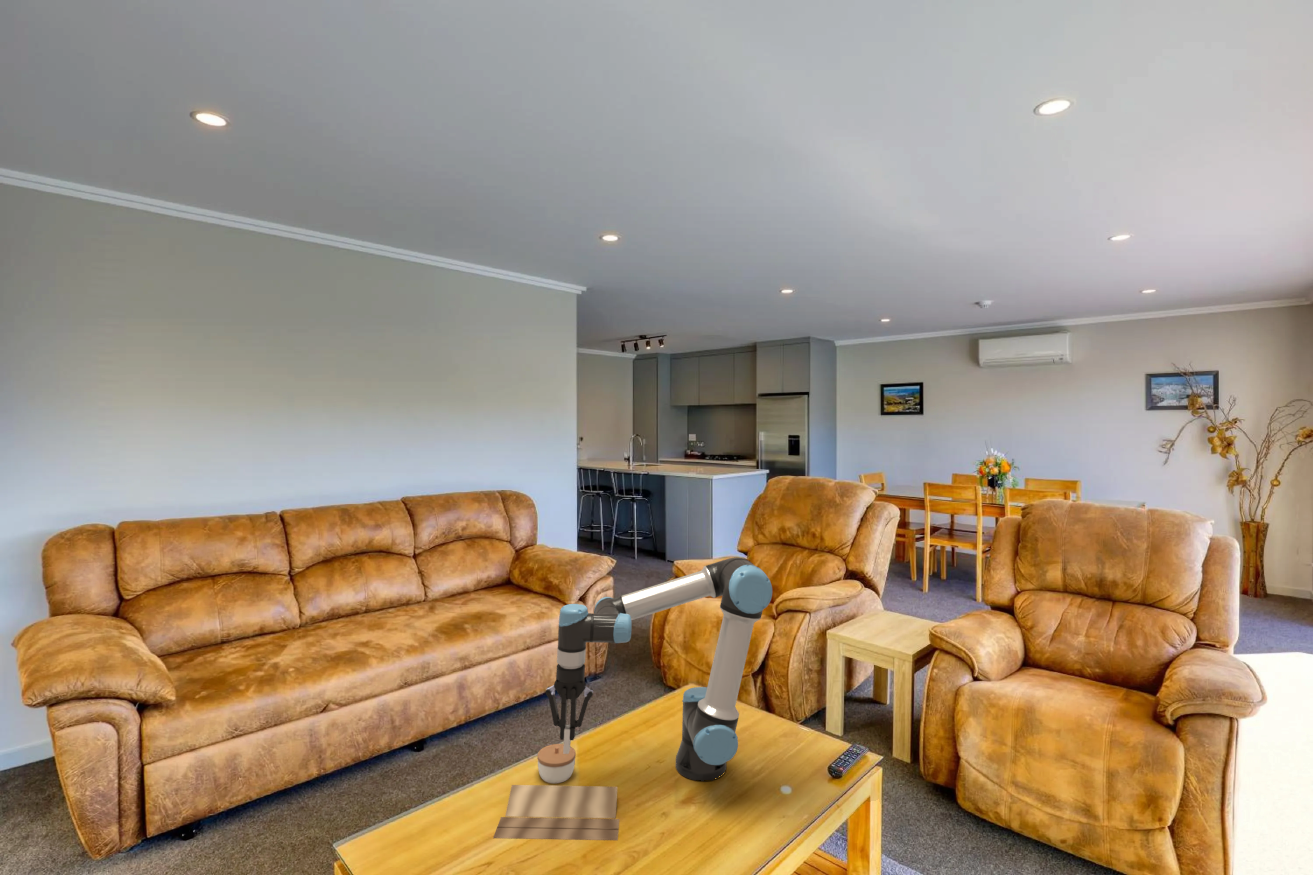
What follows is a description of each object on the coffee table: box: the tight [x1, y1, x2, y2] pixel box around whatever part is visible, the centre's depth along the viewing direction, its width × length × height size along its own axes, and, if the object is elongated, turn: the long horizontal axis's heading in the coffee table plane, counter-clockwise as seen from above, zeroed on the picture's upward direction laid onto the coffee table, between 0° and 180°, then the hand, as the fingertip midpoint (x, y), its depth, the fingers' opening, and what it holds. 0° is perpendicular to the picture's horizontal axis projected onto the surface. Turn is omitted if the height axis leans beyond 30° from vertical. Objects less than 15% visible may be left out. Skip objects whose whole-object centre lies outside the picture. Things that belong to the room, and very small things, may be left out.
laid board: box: [492, 816, 620, 841], centre depth 151 cm, size 30×8×2 cm, turn 91°
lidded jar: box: [537, 743, 577, 784], centre depth 174 cm, size 11×11×9 cm
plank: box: [504, 784, 618, 819], centre depth 159 cm, size 28×8×2 cm
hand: (566, 750), depth 164 cm, fingers closed
